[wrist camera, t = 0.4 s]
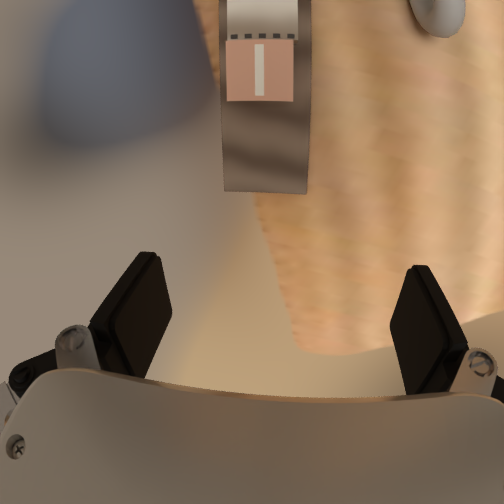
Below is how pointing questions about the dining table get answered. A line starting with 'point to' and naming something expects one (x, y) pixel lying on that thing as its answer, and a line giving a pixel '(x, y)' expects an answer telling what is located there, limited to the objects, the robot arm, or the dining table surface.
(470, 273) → the dining table surface
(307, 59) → the board
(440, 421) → the robot arm
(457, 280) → the dining table surface
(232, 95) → the taped shipping carton
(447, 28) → the donut
